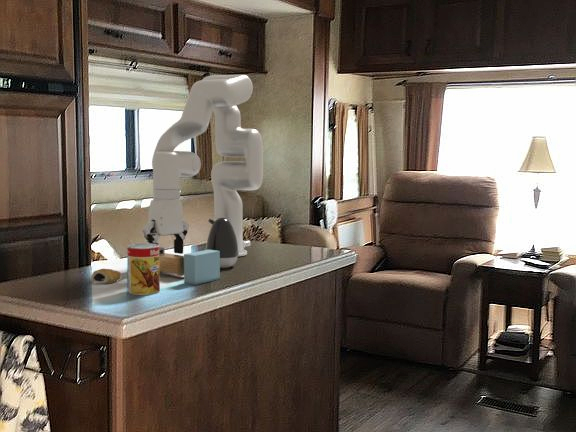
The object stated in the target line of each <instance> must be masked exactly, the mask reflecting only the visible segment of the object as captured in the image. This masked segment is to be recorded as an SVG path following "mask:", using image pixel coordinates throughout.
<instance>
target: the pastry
mask: <svg viewBox="0 0 576 432" xmlns="http://www.w3.org/2000/svg"><path fill="white" fill-rule="evenodd" d="M119 280H121V272H120V271H119V270H114V269H110V268H100V269H97V270H94V271H93V272H92V274H91V276H90V278H89V282H90V283H91V284H94V285H95V284H97V285H101V284H102V285H108V284H109V285H111V284H114V283H115V282H116V283H117V282H118V281H119ZM110 283H111V284H110Z"/></svg>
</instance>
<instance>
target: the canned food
mask: <svg viewBox="0 0 576 432" xmlns="http://www.w3.org/2000/svg"><path fill="white" fill-rule="evenodd" d="M158 244H159V243H158ZM158 244H151V243H148V242H147V243H144V242H143V243H133V244H129V245H127V248H128V257H127V281H128V282H127V285H128V286H127V287H128V288H127V289H128V290H127V291H128V294H130V295H135V296H149V295H150V296H151V295H157V294H158V293H160V290H161V288H160V285H161V282H160V280H161V279H160V277H161V276H160V275H161V274H160V273H161V272H159V247H160V245H158Z"/></svg>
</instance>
